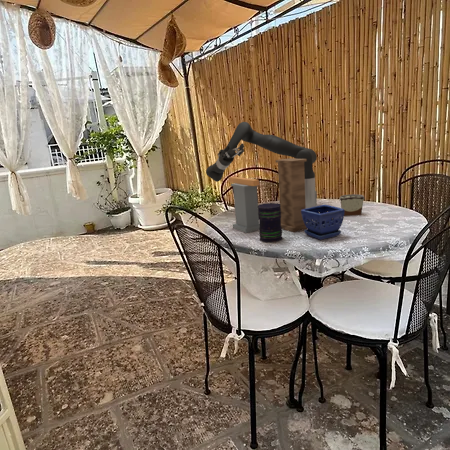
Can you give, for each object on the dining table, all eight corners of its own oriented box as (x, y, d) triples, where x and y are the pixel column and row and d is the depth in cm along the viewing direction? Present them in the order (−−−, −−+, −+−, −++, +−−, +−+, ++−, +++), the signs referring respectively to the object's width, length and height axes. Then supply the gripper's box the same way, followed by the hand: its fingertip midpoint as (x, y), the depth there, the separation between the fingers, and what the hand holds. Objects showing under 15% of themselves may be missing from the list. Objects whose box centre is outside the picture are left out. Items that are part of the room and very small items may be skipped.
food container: (361, 212, 187) (361, 193, 184) (364, 215, 181) (364, 195, 178) (336, 213, 188) (336, 195, 186) (339, 216, 182) (339, 197, 180)
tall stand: (277, 227, 173) (273, 160, 165) (293, 223, 177) (290, 158, 169) (293, 232, 163) (290, 161, 155) (310, 227, 167) (308, 158, 159)
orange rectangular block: (229, 182, 180) (228, 177, 179) (234, 181, 181) (233, 176, 180) (253, 186, 161) (253, 180, 160) (259, 185, 162) (258, 179, 162)
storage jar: (279, 242, 150) (278, 208, 146) (257, 242, 153) (254, 208, 150) (284, 235, 159) (282, 202, 155) (262, 235, 162) (260, 203, 159)
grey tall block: (232, 228, 178) (229, 184, 173) (249, 224, 183) (246, 181, 177) (245, 233, 168) (242, 186, 163) (263, 228, 173) (260, 183, 167)
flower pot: (320, 242, 146) (319, 214, 143) (300, 235, 158) (299, 208, 155) (345, 236, 151) (345, 208, 148) (325, 229, 163) (324, 203, 160)
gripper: (211, 155, 201) (222, 140, 187) (233, 153, 208) (245, 138, 194) (215, 167, 200) (227, 153, 186) (237, 164, 206) (250, 150, 192)
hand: (236, 145), depth 190 cm, fingers open, 8 cm apart
